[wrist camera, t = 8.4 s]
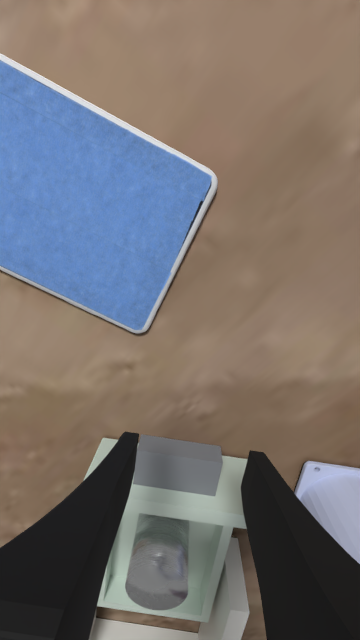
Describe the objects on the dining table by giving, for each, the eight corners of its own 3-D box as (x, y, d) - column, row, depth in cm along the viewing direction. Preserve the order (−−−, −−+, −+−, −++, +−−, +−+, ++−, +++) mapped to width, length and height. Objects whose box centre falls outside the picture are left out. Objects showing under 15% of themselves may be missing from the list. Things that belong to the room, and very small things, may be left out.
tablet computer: (222, 179, 18) (224, 174, 17) (145, 335, 22) (143, 341, 20) (-55, 27, 17) (-76, 9, 15) (-92, 221, 20) (-111, 220, 19)
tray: (258, 430, 23) (277, 484, 18) (217, 585, 28) (223, 659, 23) (105, 407, 23) (80, 454, 18) (93, 566, 28) (71, 637, 23)
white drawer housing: (237, 538, 26) (252, 630, 20) (209, 639, 31) (214, 741, 24) (89, 515, 26) (57, 601, 20) (82, 620, 31) (54, 717, 24)
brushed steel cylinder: (193, 506, 24) (193, 572, 19) (183, 543, 25) (181, 615, 20) (142, 496, 24) (129, 560, 19) (134, 535, 25) (121, 604, 20)
